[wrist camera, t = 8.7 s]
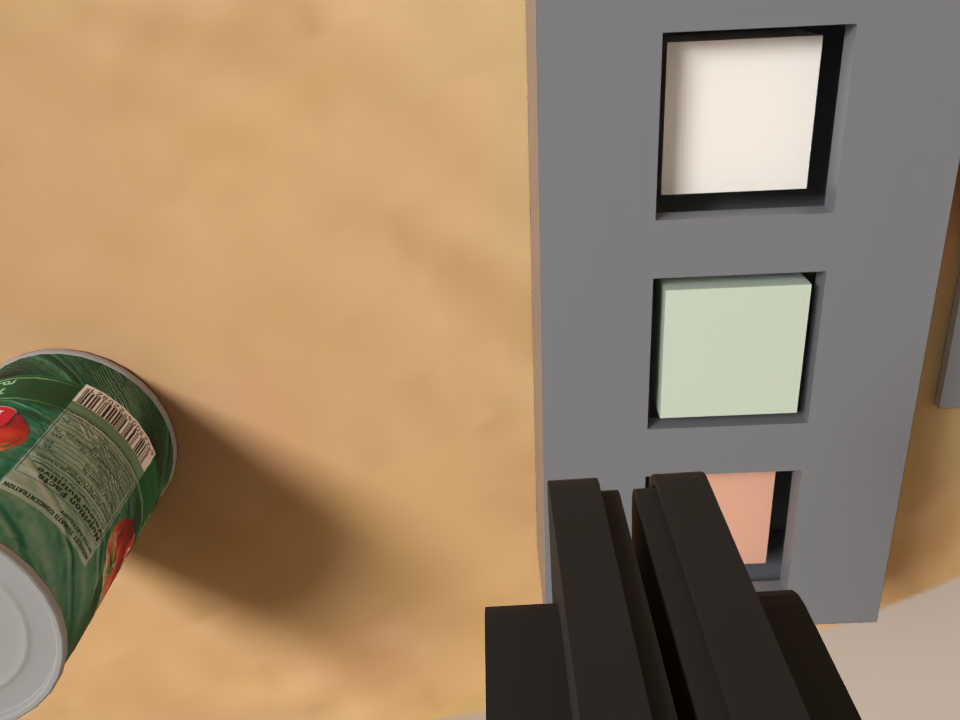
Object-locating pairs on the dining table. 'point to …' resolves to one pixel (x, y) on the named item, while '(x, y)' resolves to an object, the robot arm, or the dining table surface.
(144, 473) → the canned tomato
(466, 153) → the dining table surface
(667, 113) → the off-white key
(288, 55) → the dining table surface
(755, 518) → the terracotta key
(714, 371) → the sage key
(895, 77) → the keypad housing
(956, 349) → the card
